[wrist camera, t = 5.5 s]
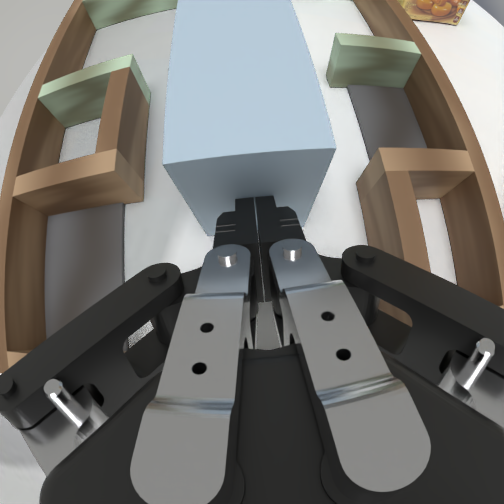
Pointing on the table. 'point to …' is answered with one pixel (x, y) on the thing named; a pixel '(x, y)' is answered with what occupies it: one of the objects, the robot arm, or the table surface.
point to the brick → (243, 109)
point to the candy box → (435, 10)
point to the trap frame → (133, 166)
